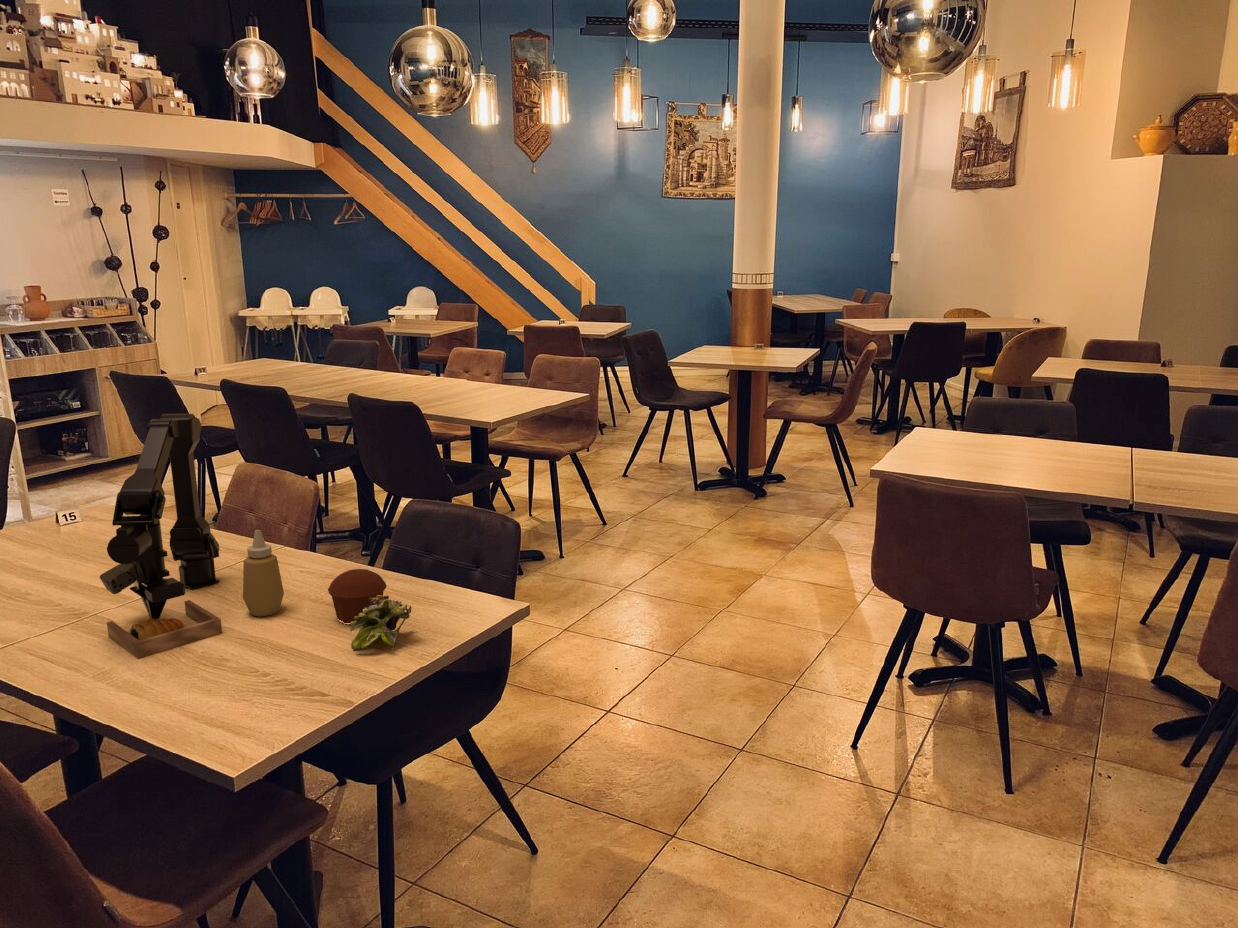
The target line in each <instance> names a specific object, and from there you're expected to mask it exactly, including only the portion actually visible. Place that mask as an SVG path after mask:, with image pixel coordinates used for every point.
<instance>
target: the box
mask: <svg viewBox="0 0 1238 928" xmlns="http://www.w3.org/2000/svg"><path fill="white" fill-rule="evenodd" d="M184 610H185V616H187V617H189V618H190V619H191V620H193V621H195V622H196V623H195V624H192V625H188V626H184V628H181V629H177V630H174V631H171V632H167V633H164V634H160V635H157V636H153V637H150V638H147V639H143V640H140V641H139V640H138V639H136V638H135V637H133V636H132V635H131V634H130V632H129V631H127V630H125V629H124V628H123V627H121V626H119V625H118V624H117V623H116V622H115V621H113V620H111V621H107V622H106V627H107V635H108V636H107V637H109V639H111V640H112V641H113V642H115V643H116V644H118V646H120V647H121V648H122V649H124V650H125V651H127V653H129V654H130V655H132V656H133V657H134V658H136V659H141V658H145V657H147V656H151V655H154V654H158V653H161V652H164V651H168V650H171V649H173V648H177V647H180V646H183V645H186V644H190V643H192V642H197V641H200V640H204V639H207V638H210V637H212V636H213V637H214V636H216V635H220V634H222V633H223V628H222V620H221V619H222V618H220V617H218V616H217V615H215V614H213V613H212V612H210V611H209V610H208V609H205V608H204V607H202V606H201V605H199V604H196V603H195V602H193V601H191V600H190V599H189V600H185V601H184Z"/></svg>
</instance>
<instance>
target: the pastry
mask: <svg viewBox="0 0 1238 928" xmlns="http://www.w3.org/2000/svg"><path fill="white" fill-rule="evenodd" d="M184 627H185V626H184V623H183V622H182V620H181V619H178V618H174V617H173V618H161V617H160V618H159V619H151V618H149V619H147V620H141V621H139V622H138V623H133V624H131V628H130V629H129V634H131V635H132V636H133V637H135V638H136V639H138V640H139V641H140V640H143V639H147V638H150V637H153V636H157V635H160V634H164V633H167V632H171V631H174V630H177V629H181V628H184Z"/></svg>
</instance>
